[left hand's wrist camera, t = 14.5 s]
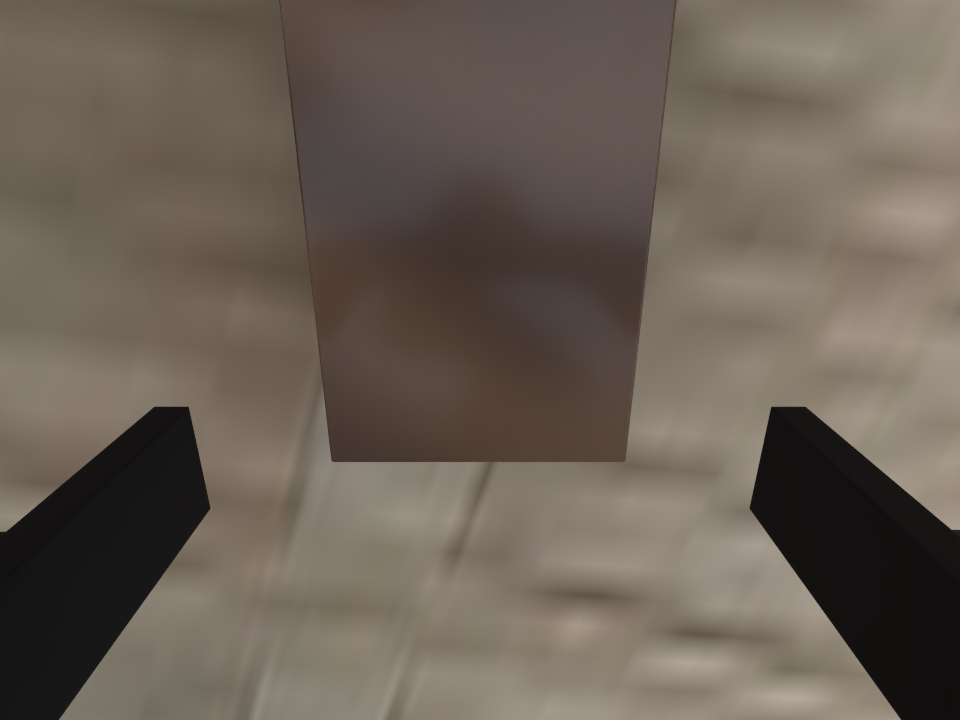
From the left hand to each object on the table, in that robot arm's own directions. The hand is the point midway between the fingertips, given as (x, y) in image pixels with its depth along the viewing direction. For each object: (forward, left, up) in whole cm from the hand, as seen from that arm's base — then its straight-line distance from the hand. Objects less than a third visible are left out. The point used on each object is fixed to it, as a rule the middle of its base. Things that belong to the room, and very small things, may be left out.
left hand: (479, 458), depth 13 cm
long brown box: (0, +5, -17) cm, 18 cm away
